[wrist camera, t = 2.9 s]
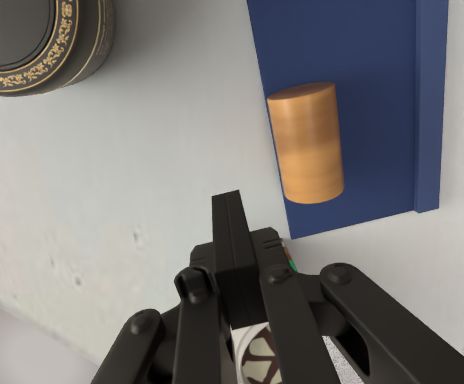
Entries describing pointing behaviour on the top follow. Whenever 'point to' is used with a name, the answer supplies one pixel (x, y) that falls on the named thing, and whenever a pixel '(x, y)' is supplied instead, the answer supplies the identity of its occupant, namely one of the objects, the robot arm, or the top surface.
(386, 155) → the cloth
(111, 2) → the jar
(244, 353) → the food container
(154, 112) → the top surface
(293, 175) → the roller
